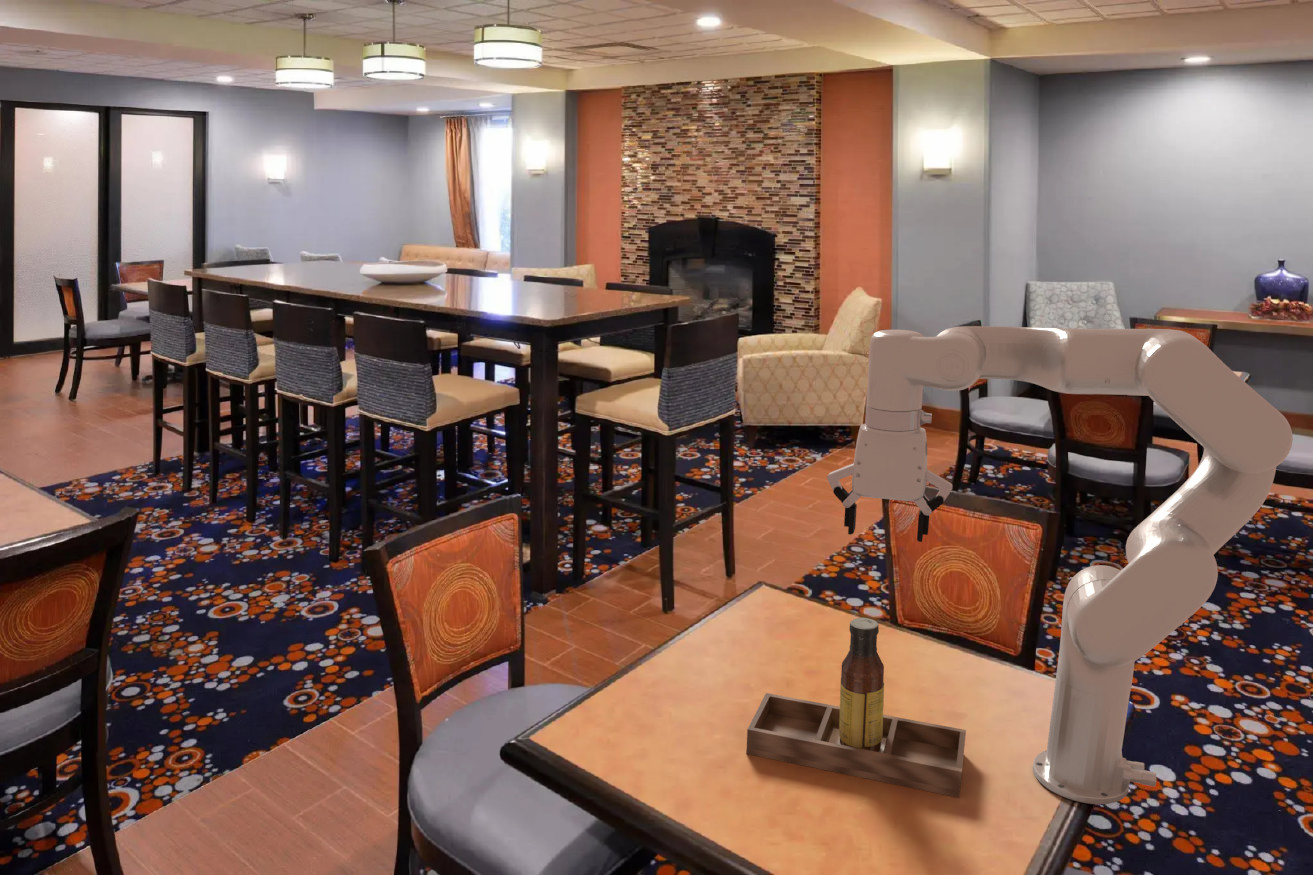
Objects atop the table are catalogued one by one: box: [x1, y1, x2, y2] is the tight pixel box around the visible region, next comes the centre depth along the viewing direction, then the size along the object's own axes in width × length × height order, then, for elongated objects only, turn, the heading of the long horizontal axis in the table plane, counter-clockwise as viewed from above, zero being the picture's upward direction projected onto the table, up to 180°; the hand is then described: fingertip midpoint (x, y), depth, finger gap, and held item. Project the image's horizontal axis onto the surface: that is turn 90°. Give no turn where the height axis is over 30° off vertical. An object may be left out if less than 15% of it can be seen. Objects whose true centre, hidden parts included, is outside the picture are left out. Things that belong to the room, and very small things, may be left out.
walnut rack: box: [746, 692, 967, 798], centre depth 146 cm, size 30×12×4 cm, turn 71°
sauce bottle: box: [839, 617, 885, 752], centre depth 143 cm, size 7×6×20 cm
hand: (885, 535), depth 142 cm, fingers open, 9 cm apart
